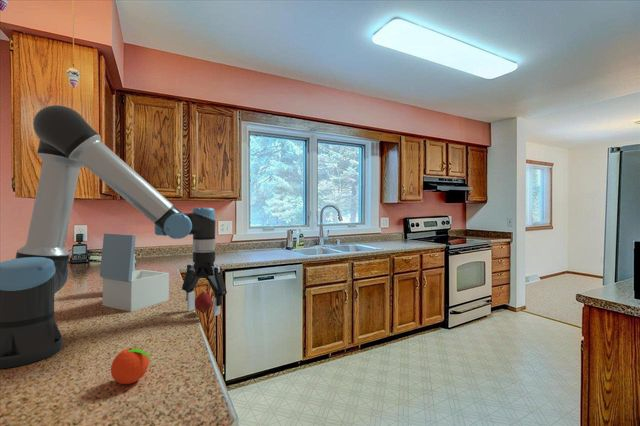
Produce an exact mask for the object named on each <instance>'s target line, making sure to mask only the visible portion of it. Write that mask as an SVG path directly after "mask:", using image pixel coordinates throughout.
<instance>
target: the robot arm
mask: <svg viewBox="0 0 640 426" xmlns="http://www.w3.org/2000/svg"><path fill="white" fill-rule="evenodd" d="M32 125H33V131H34V132H35V134H36V136H37V137H38V138H39V142H38V148H37V151H36V152H37V153H36V155H37V156H38V157H39V159H40V160H41V162H42V164H41V169H40V173H39V178H38V183H37V184H38V185H37V188H36V193H35V198H34V203H33V208H32V213H31V217H30V223H29V227H28V231H27V232H28V233H27V237H26V241H25V245H24V246H22V247H21V248H19V249H17V250H16V254H15V258H13V259H10V260H4V261H1V262H0V370H1V369H9V368H14V367H19V366H24V365H27V364H28V365H29V364H32V363H35V362H38V361H42V360H45V359H47V358H49V357H51V356H53V355H55V354H56V353H59V352H60V351H61V350H62V349H63V345H64V344H63V342H64V341H63V336H62V334H61V331H60V329H59V327H58V324H57V322H56V320H55V294H56V293H57V292H58V291H60V290H61V289H62V288H63V287H64V286H65V284H66V282H67V280H68V278H69V268H68V264H69V261H70V260H69V258H70V254H71V253H70V252H69V251H68V250H67V249H66V241H67V237H68V232H69V231H68V230H69V226H70V222H71V217H72V216H71V215H72V211H73V205H74V201H75V196H76V192H77V191H76V190H77V185H78V179H79V175H80V170H81V169H82V168H83V167H85V168H87V169H88V170H89V171H90V172H91V173H92V174H94V175H95V176H96V177H98V179H100V180H101V181H102V182H103V183H105V184H106V185H107V186H108V187H109V188H111V189H112V190H113V191H114V192H115V193H117V194H118V195H119V196H120V197H122V198H123V199H124V200H125V201H127V203H129V204H130V205H132V207H133V208H135V209H137V211H138V212H139V213H141V215H143V216H144V217H146V218H147V219H149V221H151V222H152V223H153V224H154V234H155V235H156V236H163V237H167V236H168V237H169V238H170V239H173V240H178V239H184V238H186V237H187V236H190V235H191V236H192V251H193V252H192V263H190V264H187V265H186V272H185V277H184V279H183V283H182V287H181V290H182V291H184V292H185V294H186V296H185V297H186V299H185V300H186V301H187V302H186V303H187V304H186V305H187V312H191V311H194V310H195V309H196V307H195V300H196V296H195V295H196V294H195V293H196V291H195V287H196V286H197V284H198V282H199V280H200V279H201V278H203V279H205V280H206V281H207V282H208V284H209V285H210V287H211V289H212V291H213V293H214V296H213V299H212V306H213V307H212V310H213V311H212V313H213V315H212V316H214V317H216V316H218V315H219V316H220V314H221V306H222V303H223V296H225V295H227V294H228V291H227V288H226V283H225V279H224V277H223V273H222V266H215V265H214V263H215V261H216V251H215V249H216V221H217V220H216V210H215V208H213V207H194V208H193V210H192V212H187V213H185V212H184V213H183V212H182V211H181V210H180V209H178V208H177V207H176V206H175V205H174V204H173V203H171V201H169V200H168V199H167V198H166V197H165V196H164V195H162V194H161V192H159V191H158V190H157V189H156V188H155V187H153V186H152V185H151V184H150V183H149V182H147V180H145V178H143V177H142V176H141V175H140V174H139V173H138V172H136V170H134V169H133V168H132V167H130V165H128V164H127V163H126V162H125V161H124V160H123V159H122V158H120V157H119V156H118V155H117V154H116V153H115V152H114V151H113V150H112V149H110V148H109V147H108V146H107V145H106V144H104V143H103V142H102V139H101V138H102V137H101V135H100V134H99V133H98V132H97V131H96V130H95V129H93V127H92V126H91V125H90V124H89V123H88V122H87V120H85V118H84V117H83V116H82V115H81V114H80V113H79V112H77V111H76V110H74V109H73V108H72V107H71V108H70V107H68V106H65V105H58V104H57V105H55V104H53V105H48V106H46V107H43V108H41V109H39V111H38V112H36V114H35V116H34V118H33V123H32Z"/></svg>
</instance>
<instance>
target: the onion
mask: <svg viewBox="0 0 640 426" xmlns="http://www.w3.org/2000/svg"><path fill="white" fill-rule="evenodd" d="M212 306H213V299H212V296H210V295H209V294H208V293H207V292H206V290H202V292H201V293H200V294H198V295H197V296H196V297H195V309H196V310H197V311H199V312H200V313H201V314H206V313H207V312H208V310H210V308H211V307H212Z"/></svg>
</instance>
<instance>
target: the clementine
mask: <svg viewBox="0 0 640 426" xmlns="http://www.w3.org/2000/svg"><path fill="white" fill-rule="evenodd" d="M150 362H152V360H151V357H150V355H149V354H148V353H147V352H146V351H144V350H143V349H141V348H138V347H129V348H126V349H124V350H122V351H121V352H119V353H118V354H117V355H116V356H115V357H114V359H113V361H112V363H111V365H110V375H111V377H112V379H113V380H114V381H115V382H117V383H118V384H121V385H130V384H134V383H136V382H137V381H139V380H140V379H142V378H143V377H144V375H145V374H146V373H147V371H148V368H149V364H150Z"/></svg>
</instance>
